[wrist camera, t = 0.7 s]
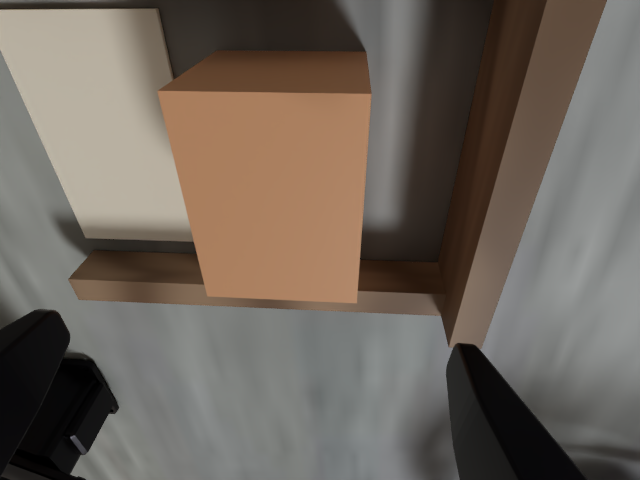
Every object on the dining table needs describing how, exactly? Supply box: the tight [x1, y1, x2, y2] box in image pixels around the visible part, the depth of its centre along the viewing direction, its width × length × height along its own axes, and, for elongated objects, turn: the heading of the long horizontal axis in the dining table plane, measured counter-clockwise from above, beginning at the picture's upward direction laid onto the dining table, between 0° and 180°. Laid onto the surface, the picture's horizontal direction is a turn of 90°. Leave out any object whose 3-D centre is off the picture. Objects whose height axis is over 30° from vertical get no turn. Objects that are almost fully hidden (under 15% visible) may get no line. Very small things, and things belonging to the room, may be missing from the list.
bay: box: [0, 0, 607, 349], centre depth 16 cm, size 21×16×4 cm
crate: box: [157, 50, 371, 303], centre depth 16 cm, size 6×8×6 cm
